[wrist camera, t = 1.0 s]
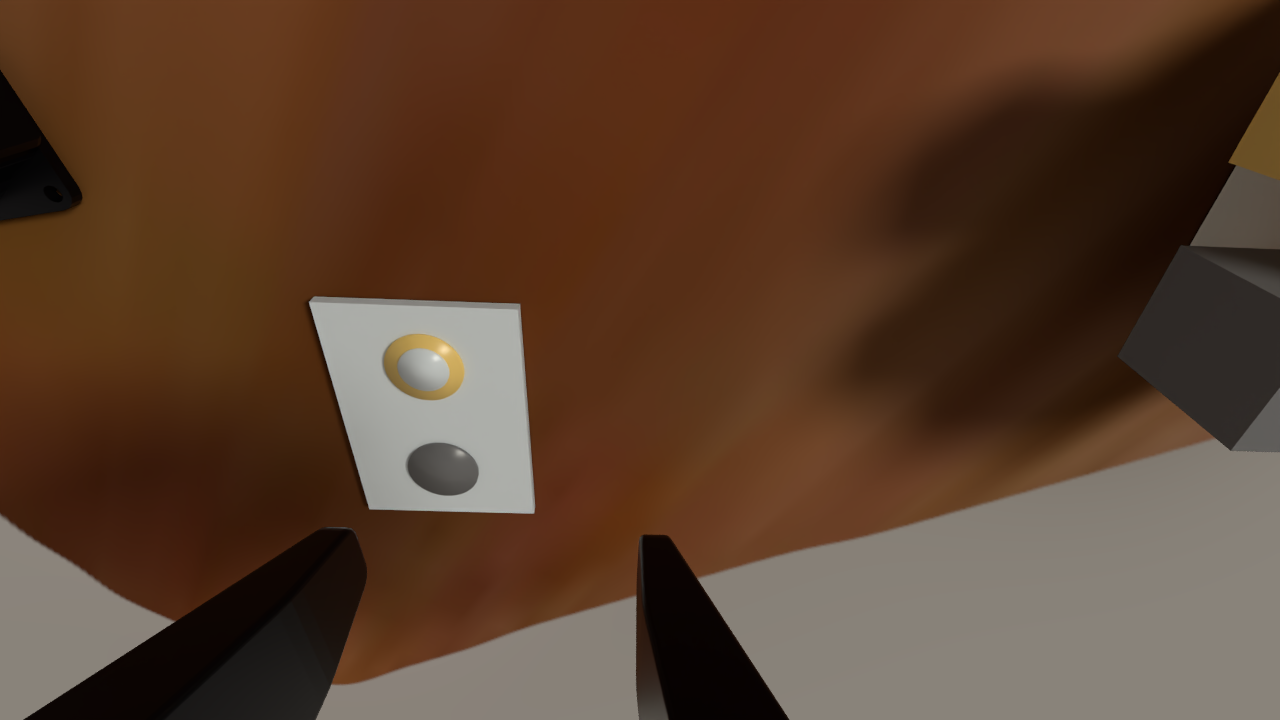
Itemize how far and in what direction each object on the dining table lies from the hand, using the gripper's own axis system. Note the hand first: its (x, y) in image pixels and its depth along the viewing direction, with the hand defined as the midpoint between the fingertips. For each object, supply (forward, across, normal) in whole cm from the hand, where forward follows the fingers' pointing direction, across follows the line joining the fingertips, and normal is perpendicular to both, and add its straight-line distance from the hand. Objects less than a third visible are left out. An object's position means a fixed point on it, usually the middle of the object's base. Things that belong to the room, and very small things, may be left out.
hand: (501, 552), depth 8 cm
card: (+13, -6, -8) cm, 16 cm away
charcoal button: (+9, +18, 0) cm, 20 cm away
